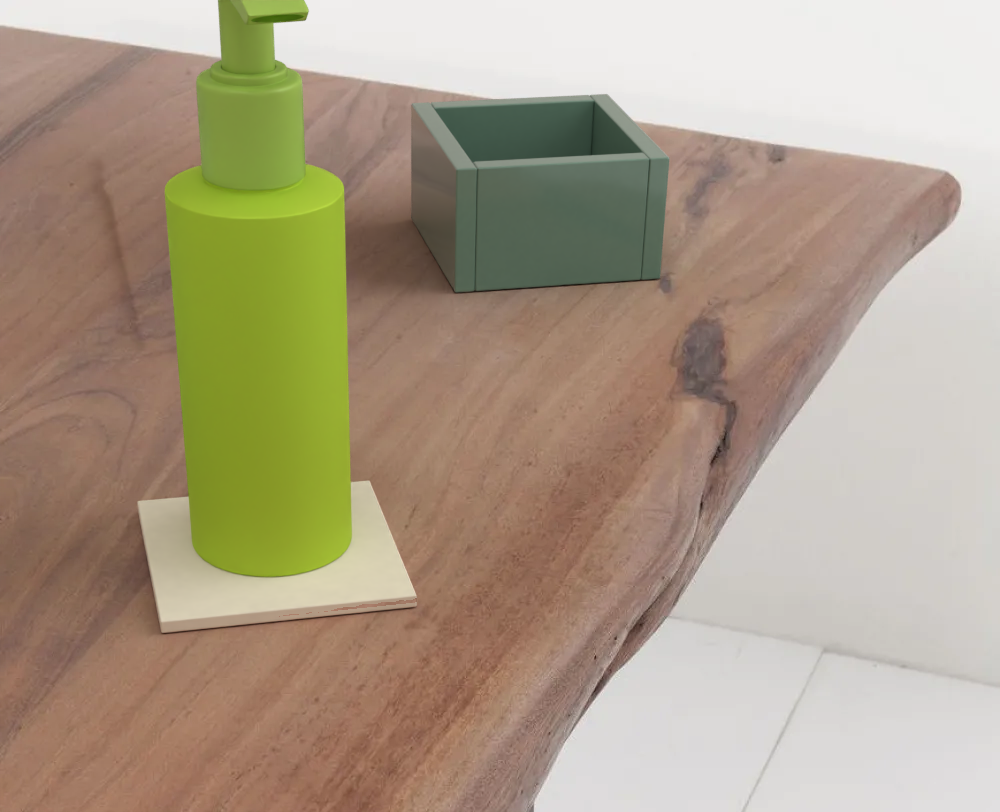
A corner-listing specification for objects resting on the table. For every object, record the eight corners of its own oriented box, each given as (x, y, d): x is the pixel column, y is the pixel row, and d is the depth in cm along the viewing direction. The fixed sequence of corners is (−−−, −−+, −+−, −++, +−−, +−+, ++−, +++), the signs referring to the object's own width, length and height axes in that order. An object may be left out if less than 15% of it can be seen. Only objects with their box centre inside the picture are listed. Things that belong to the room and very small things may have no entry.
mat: (161, 633, 65) (160, 621, 65) (137, 512, 72) (136, 500, 72) (417, 607, 67) (417, 595, 67) (369, 491, 74) (369, 479, 74)
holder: (454, 293, 91) (456, 169, 87) (410, 218, 99) (410, 102, 95) (660, 279, 93) (670, 157, 89) (601, 207, 101) (607, 93, 97)
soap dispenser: (221, 602, 66) (179, 1, 54) (175, 513, 71) (128, -53, 59) (381, 576, 67) (374, -12, 56) (325, 490, 73) (308, -63, 61)
